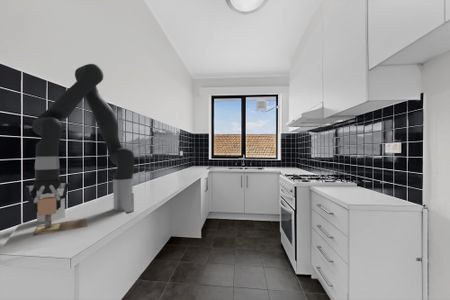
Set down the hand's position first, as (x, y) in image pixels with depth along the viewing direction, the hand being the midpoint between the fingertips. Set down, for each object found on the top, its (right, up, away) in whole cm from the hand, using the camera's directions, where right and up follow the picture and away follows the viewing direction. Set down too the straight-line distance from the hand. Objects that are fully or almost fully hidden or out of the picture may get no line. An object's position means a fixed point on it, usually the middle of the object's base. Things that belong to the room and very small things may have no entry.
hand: (47, 210), depth 88 cm
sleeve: (0, -1, 0) cm, 1 cm away
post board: (+4, -9, +3) cm, 10 cm away
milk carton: (-8, -9, +12) cm, 17 cm away
